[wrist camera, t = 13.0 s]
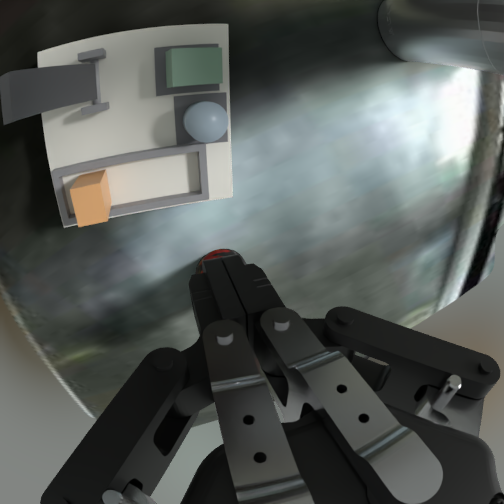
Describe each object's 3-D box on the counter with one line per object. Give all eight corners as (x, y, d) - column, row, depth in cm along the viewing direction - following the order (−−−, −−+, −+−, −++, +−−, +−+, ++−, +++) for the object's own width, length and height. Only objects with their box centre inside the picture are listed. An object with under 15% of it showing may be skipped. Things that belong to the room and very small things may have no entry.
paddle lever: (95, 63, 18) (9, 72, 10) (97, 99, 19) (13, 121, 12) (85, 66, 18) (-1, 76, 10) (87, 101, 19) (3, 125, 12)
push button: (220, 99, 23) (227, 100, 21) (221, 136, 25) (229, 140, 23) (181, 102, 22) (185, 103, 20) (184, 140, 24) (188, 145, 22)
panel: (219, 29, 22) (235, 19, 18) (224, 187, 31) (239, 204, 27) (47, 55, 18) (29, 50, 14) (70, 214, 26) (59, 237, 22)
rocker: (213, 50, 21) (222, 47, 19) (214, 83, 22) (222, 83, 21) (165, 51, 19) (171, 48, 18) (166, 87, 20) (172, 86, 19)
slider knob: (105, 169, 23) (100, 183, 19) (111, 202, 24) (107, 221, 21) (79, 175, 22) (69, 189, 19) (86, 207, 24) (78, 226, 20)
